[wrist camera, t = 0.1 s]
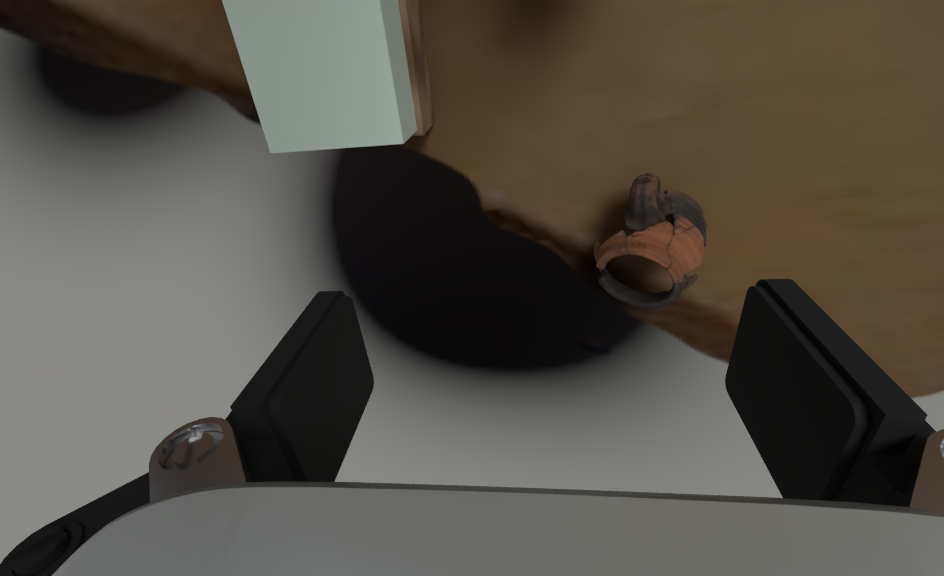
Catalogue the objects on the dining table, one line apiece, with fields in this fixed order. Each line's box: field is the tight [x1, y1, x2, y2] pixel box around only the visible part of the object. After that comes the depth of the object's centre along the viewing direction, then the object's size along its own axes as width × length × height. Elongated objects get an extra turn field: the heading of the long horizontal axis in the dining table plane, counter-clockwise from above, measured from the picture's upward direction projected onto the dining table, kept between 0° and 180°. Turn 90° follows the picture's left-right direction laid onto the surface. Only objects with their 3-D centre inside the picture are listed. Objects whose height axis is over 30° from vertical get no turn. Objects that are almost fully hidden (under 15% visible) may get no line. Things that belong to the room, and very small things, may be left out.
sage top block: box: [222, 0, 417, 153], centre depth 31 cm, size 10×10×4 cm
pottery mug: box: [594, 173, 708, 308], centre depth 40 cm, size 12×9×8 cm
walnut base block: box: [398, 0, 434, 136], centre depth 35 cm, size 11×11×5 cm
